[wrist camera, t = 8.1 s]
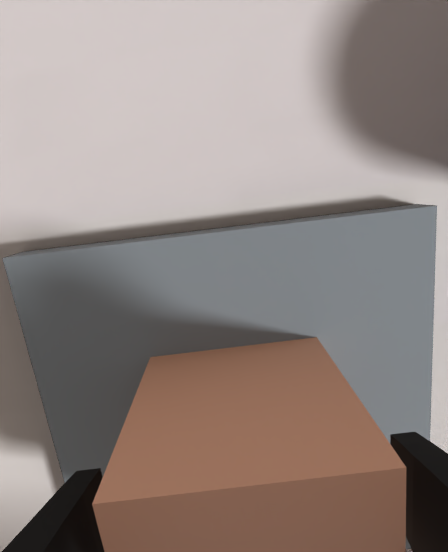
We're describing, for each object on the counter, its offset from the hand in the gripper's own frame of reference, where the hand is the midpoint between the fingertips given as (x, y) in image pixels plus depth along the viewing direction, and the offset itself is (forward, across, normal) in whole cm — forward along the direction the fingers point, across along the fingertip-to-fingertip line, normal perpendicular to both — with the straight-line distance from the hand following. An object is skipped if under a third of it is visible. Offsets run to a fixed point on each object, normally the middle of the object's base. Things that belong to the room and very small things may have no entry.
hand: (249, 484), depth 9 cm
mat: (+3, 0, 0) cm, 3 cm away
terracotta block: (+2, 0, 0) cm, 2 cm away
